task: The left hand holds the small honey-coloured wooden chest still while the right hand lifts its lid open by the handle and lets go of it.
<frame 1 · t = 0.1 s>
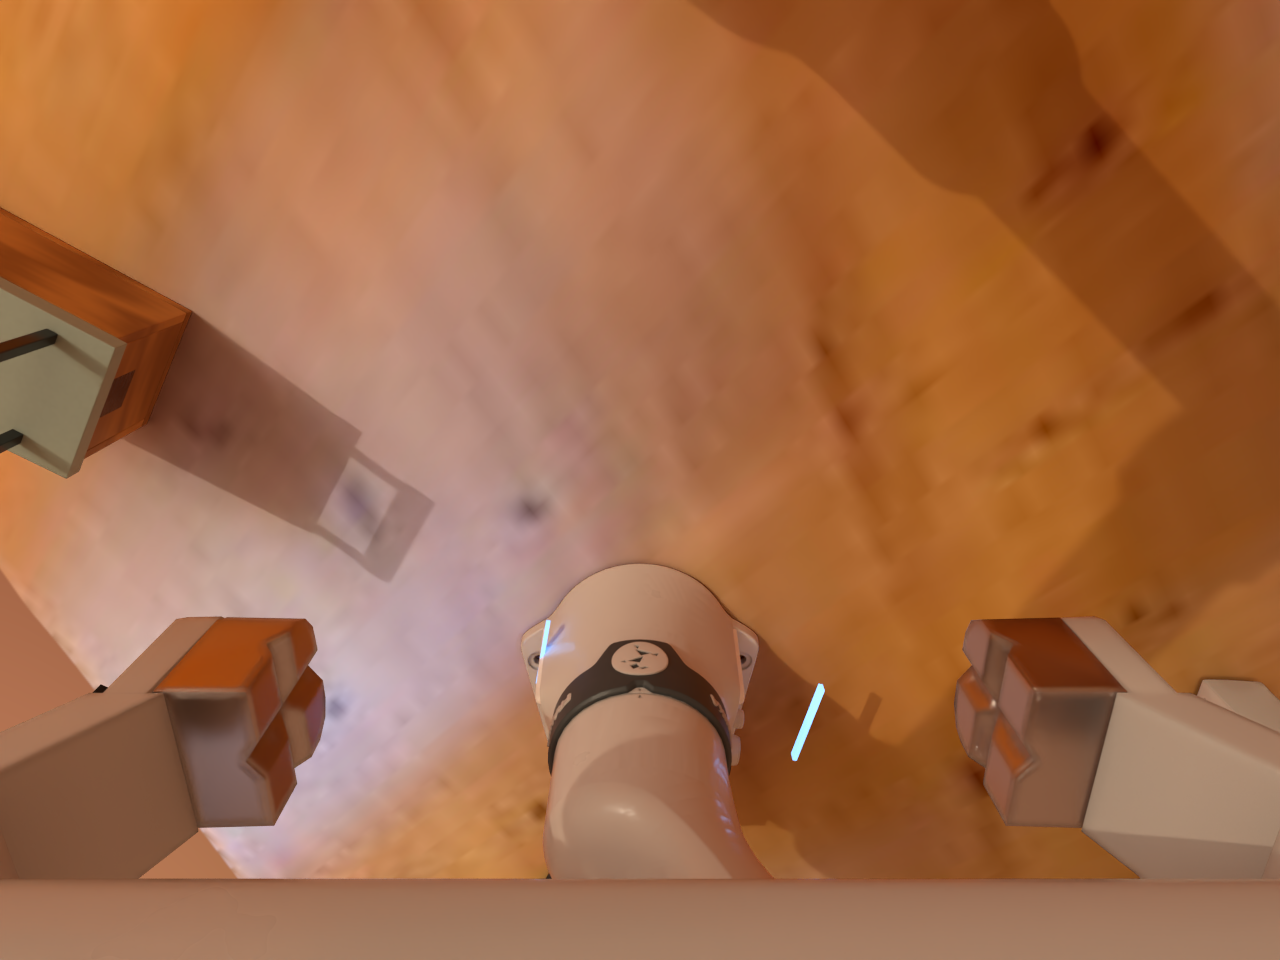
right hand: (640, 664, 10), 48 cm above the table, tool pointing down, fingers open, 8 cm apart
chest: (63, 313, 57), on the table
skincare box: (1188, 778, 72), on the table
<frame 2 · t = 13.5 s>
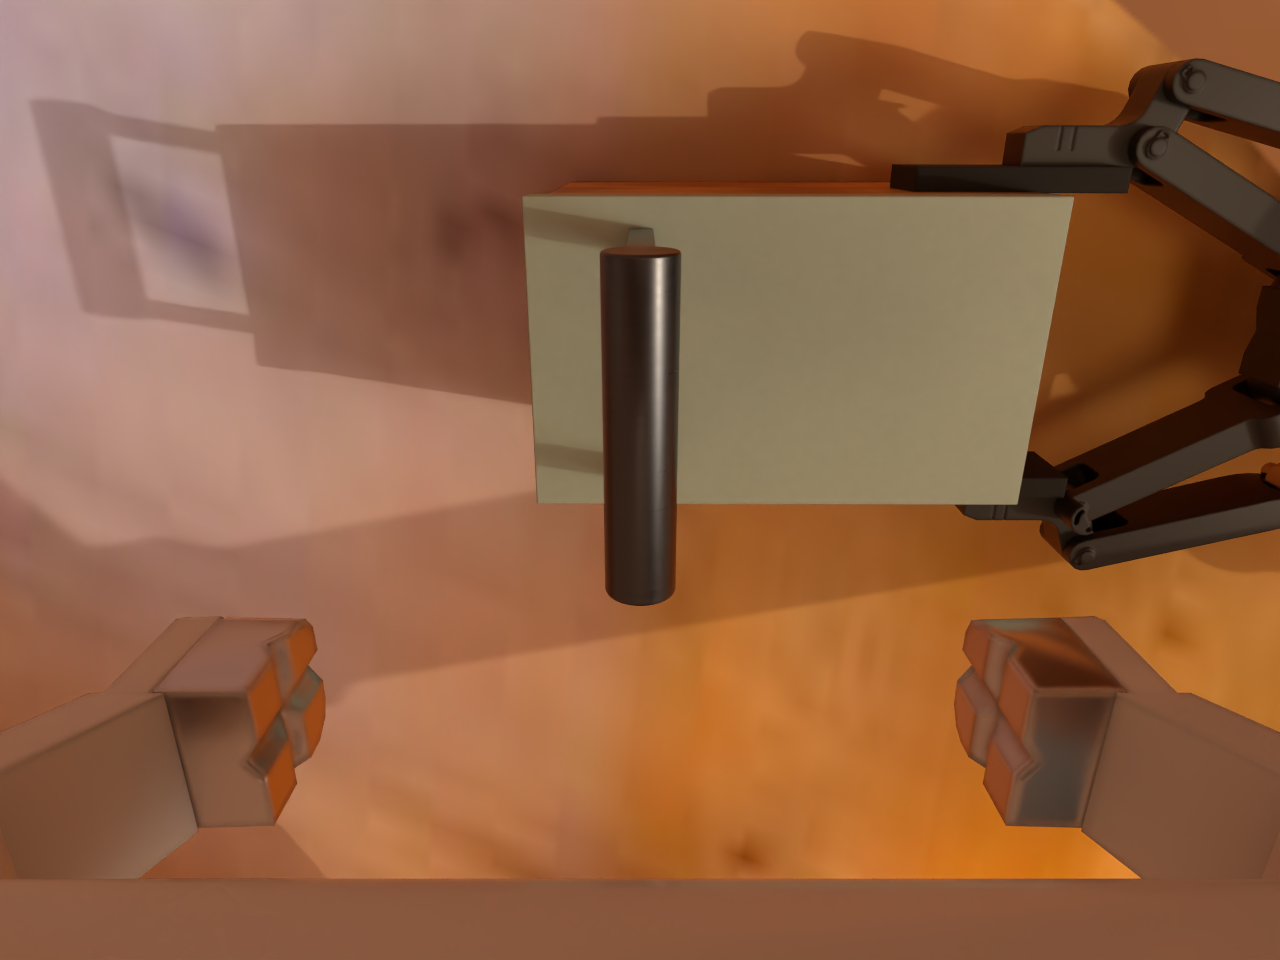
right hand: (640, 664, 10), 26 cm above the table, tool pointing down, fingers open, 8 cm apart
chest: (754, 303, 34), on the table, touching left hand
lid: (806, 390, 22), point 13 cm above the table, hinge at 0.0°
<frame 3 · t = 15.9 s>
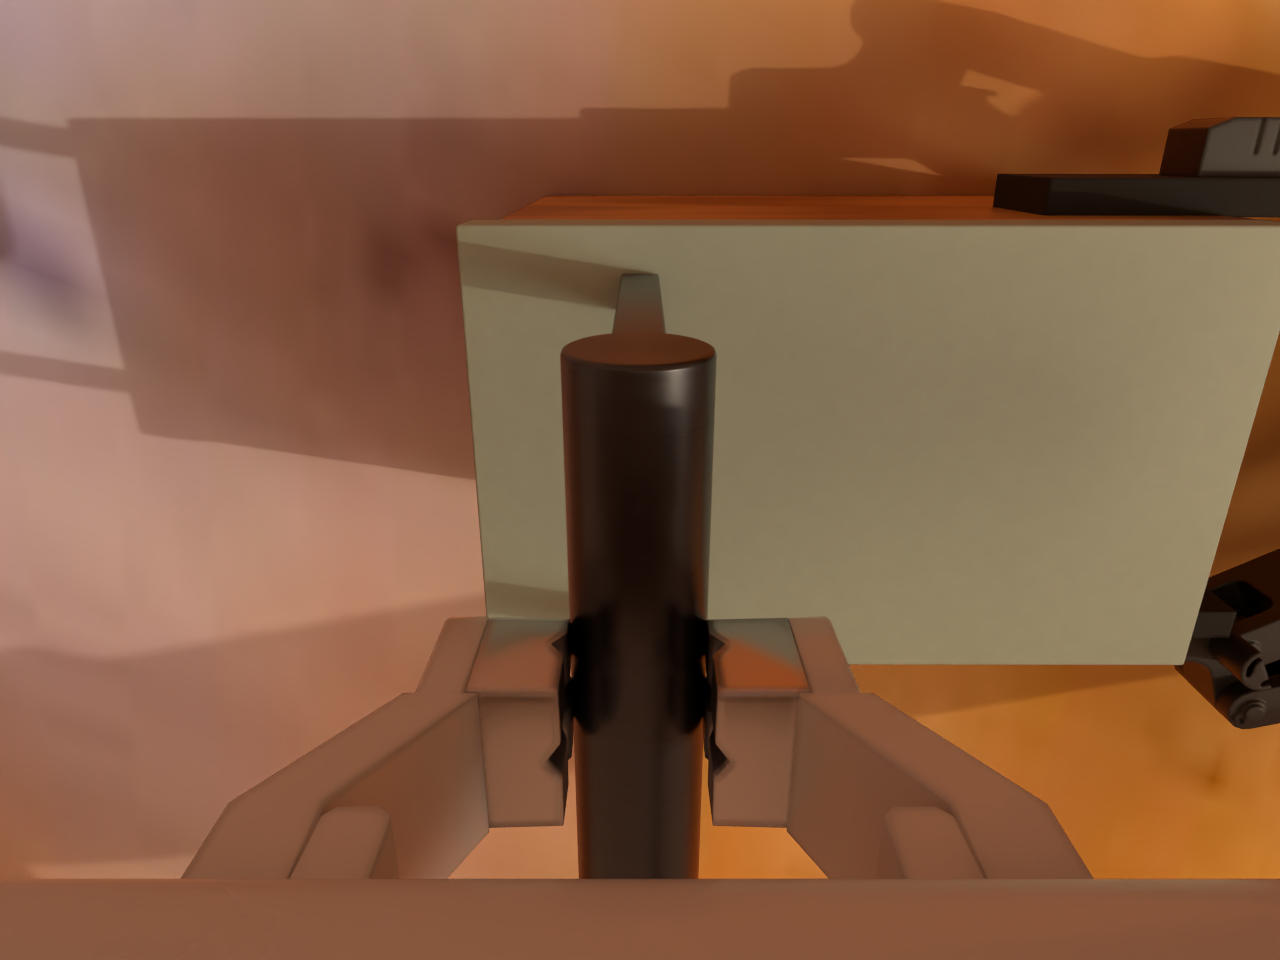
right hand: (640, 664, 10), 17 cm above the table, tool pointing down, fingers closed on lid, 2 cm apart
chest: (789, 354, 26), on the table, touching left hand
lid: (903, 536, 14), point 13 cm above the table, hinge at 0.0°, touching right hand
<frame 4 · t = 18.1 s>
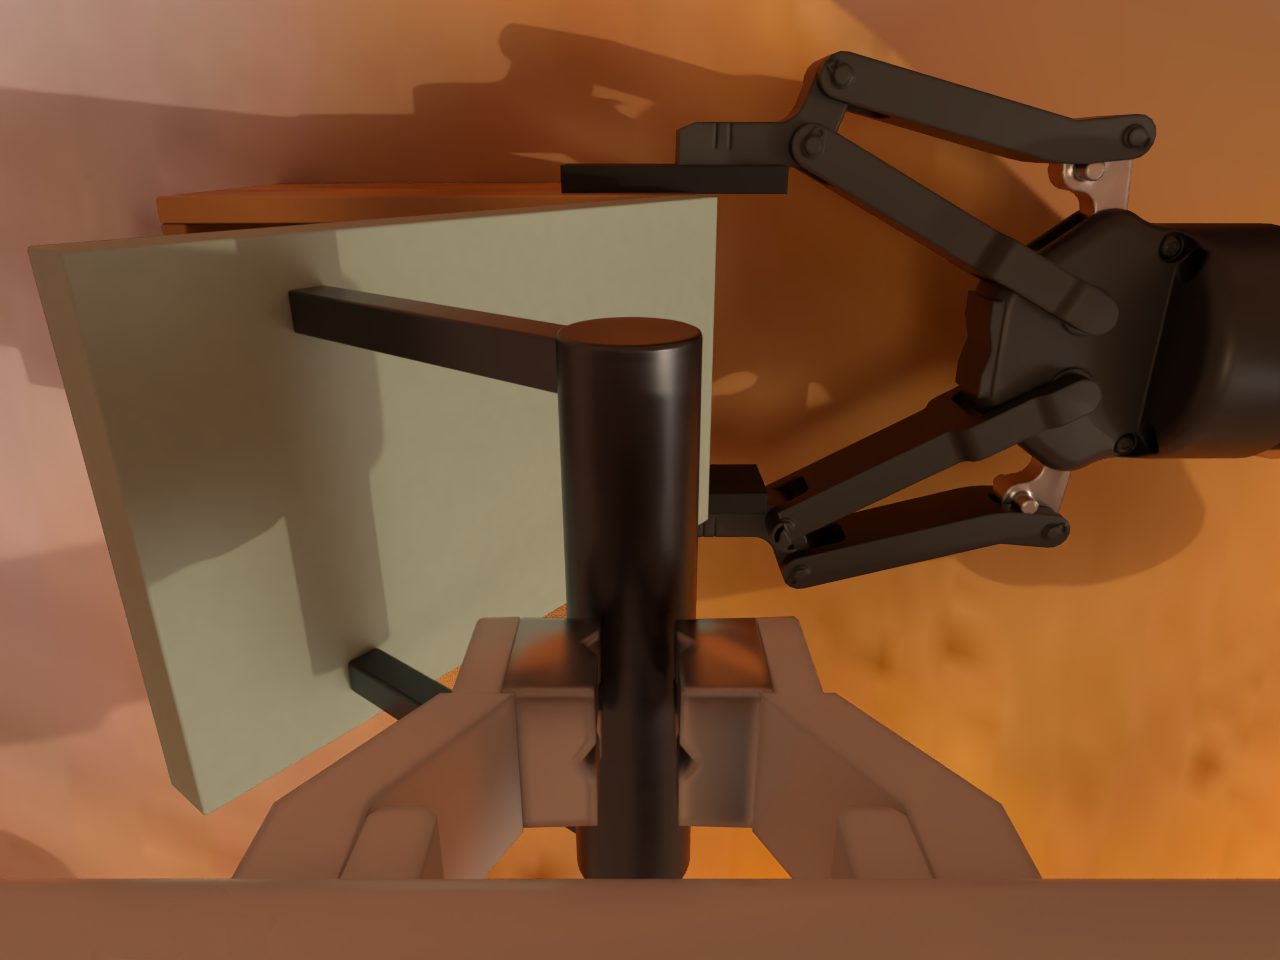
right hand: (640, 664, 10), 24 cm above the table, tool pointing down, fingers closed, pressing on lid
left hand: (569, 344, 27), fingers closed on chest, 9 cm apart
chest: (487, 310, 33), on the table, touching left hand
lid: (629, 473, 16), point 18 cm above the table, hinge at 50.9°, touching right hand
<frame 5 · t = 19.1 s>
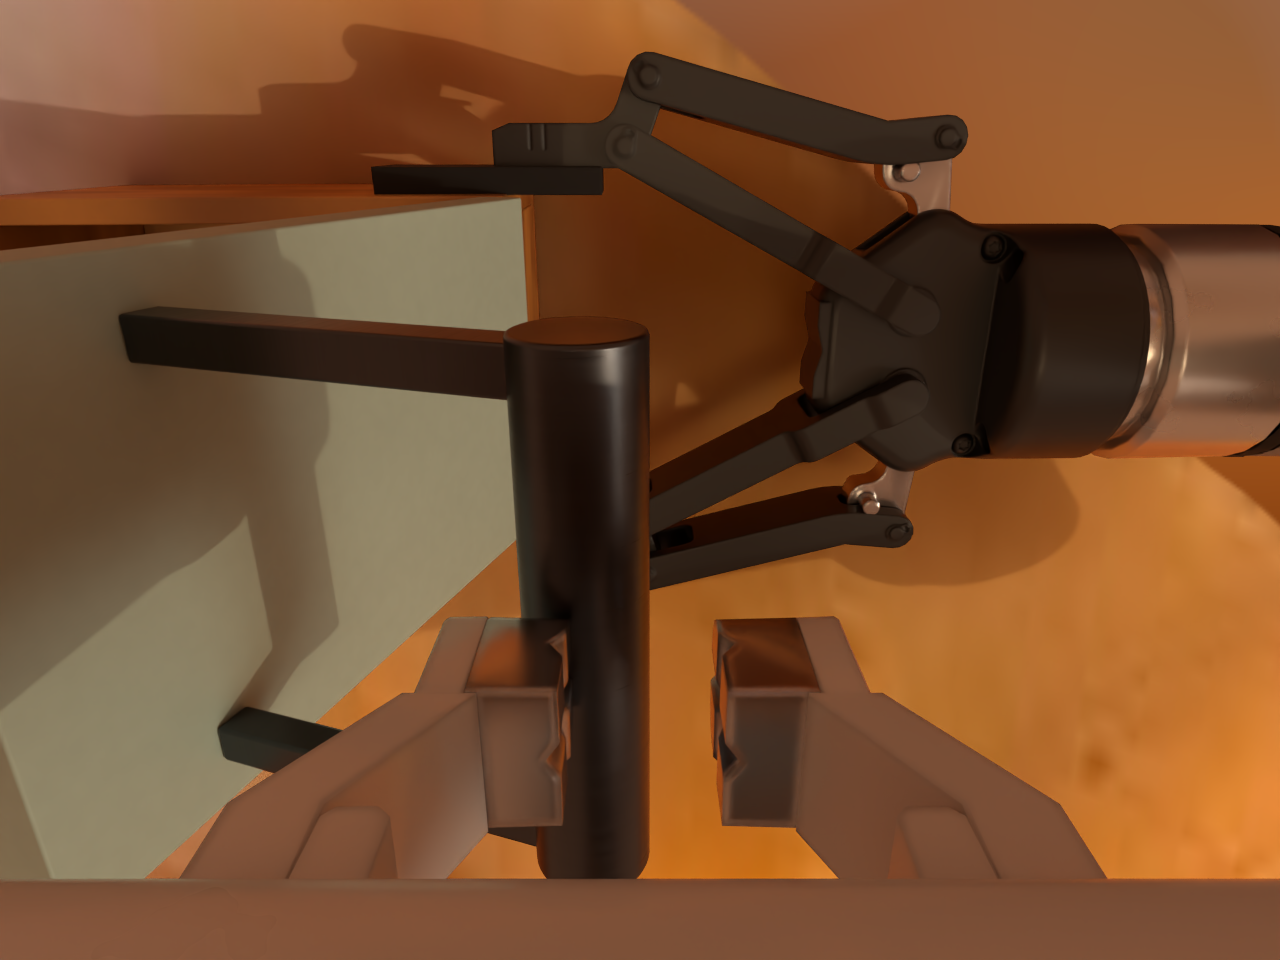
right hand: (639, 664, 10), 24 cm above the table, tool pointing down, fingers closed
left hand: (403, 346, 27), fingers closed on chest, 9 cm apart
chest: (347, 311, 32), on the table, touching left hand
lid: (502, 478, 16), point 18 cm above the table, hinge at 69.4°, touching right hand
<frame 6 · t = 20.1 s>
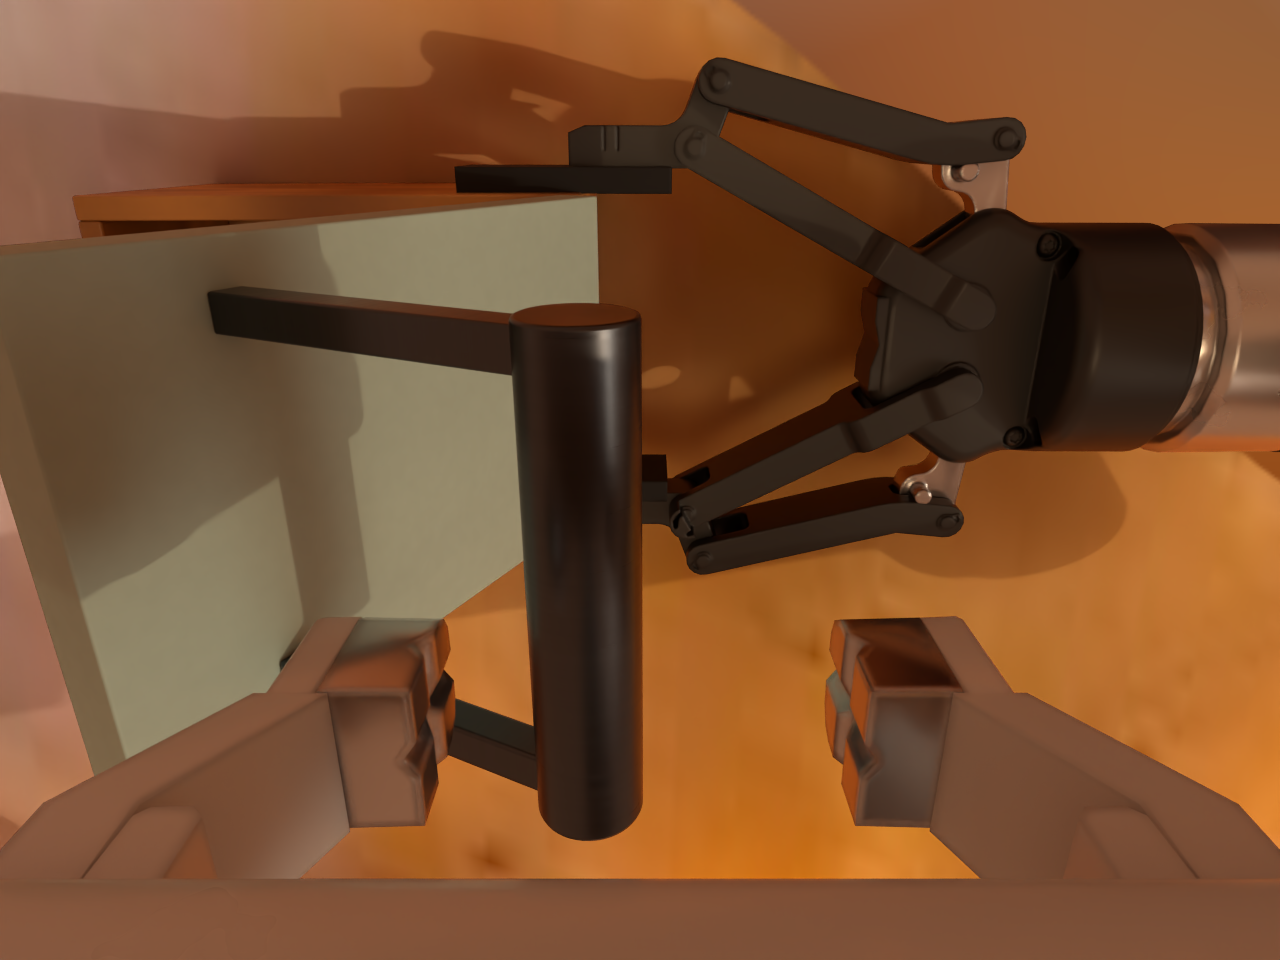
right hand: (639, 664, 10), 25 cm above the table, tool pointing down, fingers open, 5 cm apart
left hand: (476, 337, 28), fingers closed on chest, 9 cm apart
chest: (417, 305, 34), on the table, touching left hand
lid: (546, 456, 17), point 18 cm above the table, hinge at 62.8°
when the left hand's fingers open (6 cm above the table, at t = 22.9 s): chest stays where it is, on the table.
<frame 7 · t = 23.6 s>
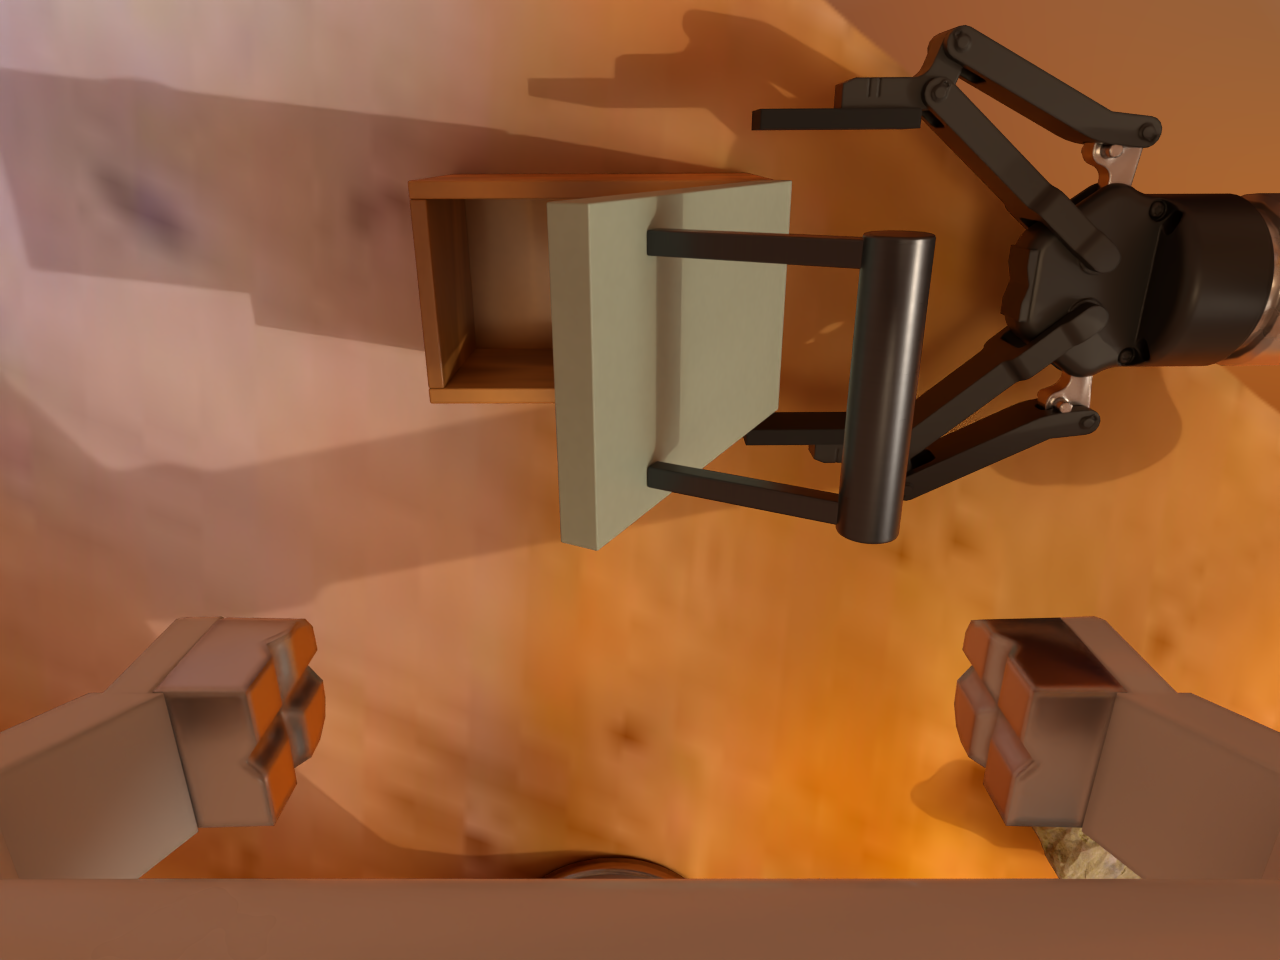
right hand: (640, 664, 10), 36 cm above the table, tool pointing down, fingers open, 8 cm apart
left hand: (747, 284, 37), fingers open, 13 cm apart
rock: (1085, 821, 57), on the table
chest: (602, 269, 43), on the table
lid: (801, 345, 27), point 18 cm above the table, hinge at 62.1°
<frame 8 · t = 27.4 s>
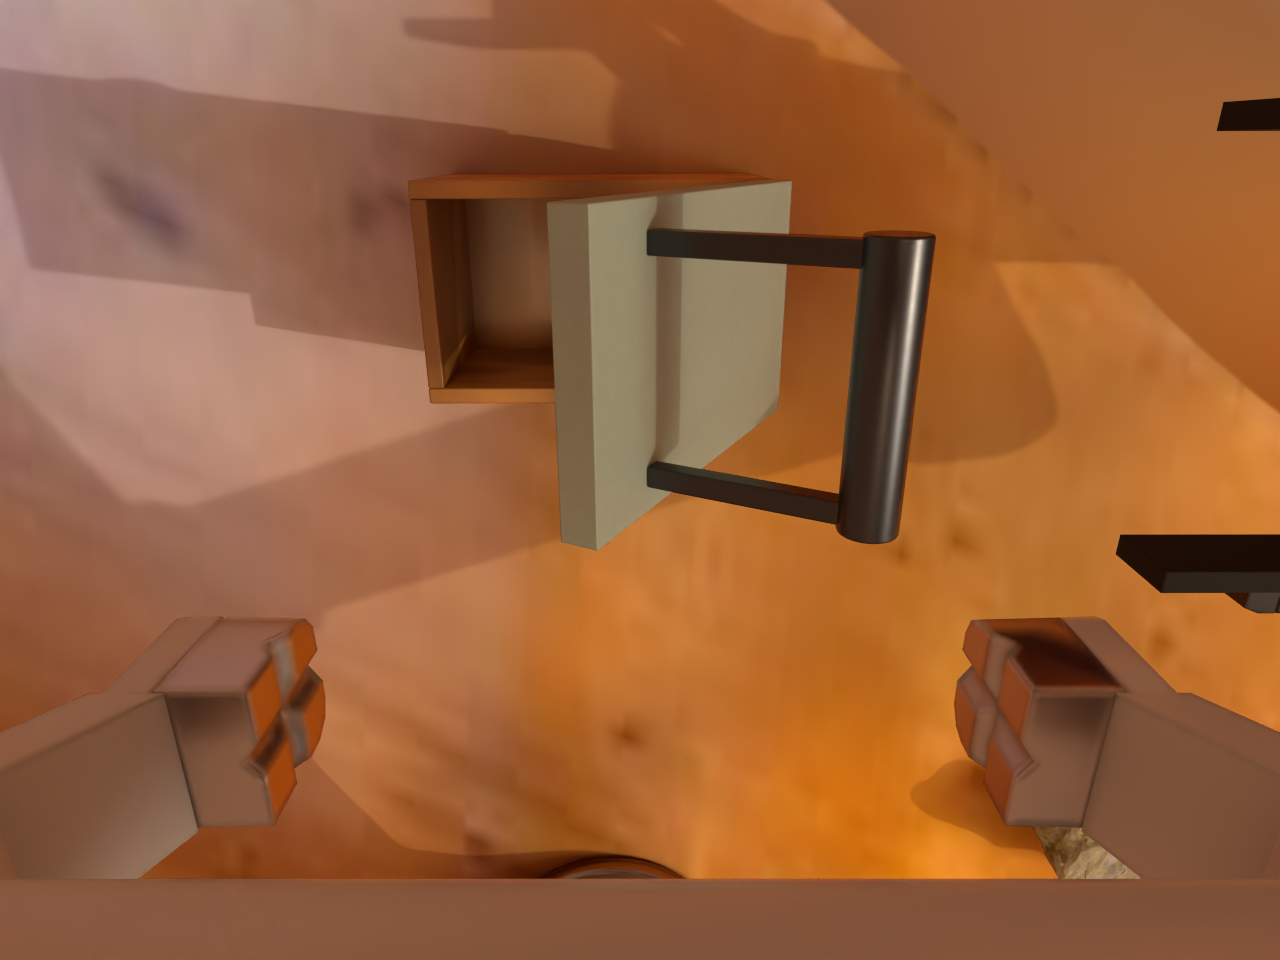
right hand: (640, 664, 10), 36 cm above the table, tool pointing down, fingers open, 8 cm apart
rock: (1085, 821, 57), on the table
chest: (602, 269, 43), on the table
lid: (801, 345, 27), point 18 cm above the table, hinge at 62.1°
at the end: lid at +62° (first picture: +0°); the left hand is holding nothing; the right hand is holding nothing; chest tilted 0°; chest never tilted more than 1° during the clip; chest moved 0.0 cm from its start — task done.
